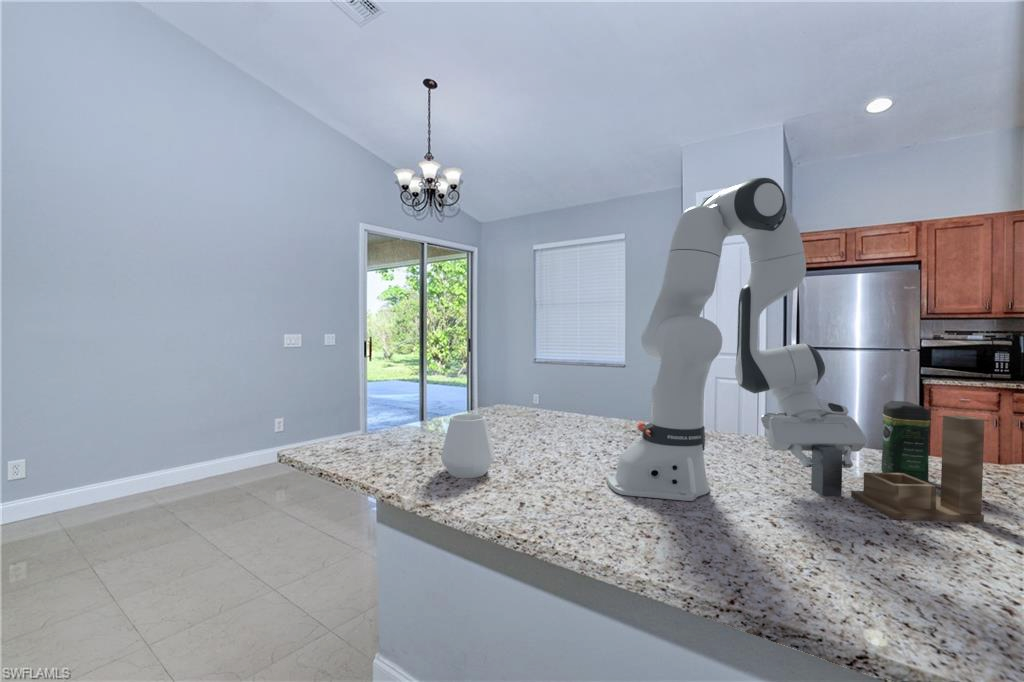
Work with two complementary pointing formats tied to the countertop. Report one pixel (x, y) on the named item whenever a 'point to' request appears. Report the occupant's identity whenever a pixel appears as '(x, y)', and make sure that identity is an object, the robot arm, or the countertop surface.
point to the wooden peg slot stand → (958, 480)
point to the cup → (467, 446)
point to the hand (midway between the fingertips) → (828, 466)
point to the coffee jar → (906, 439)
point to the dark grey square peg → (827, 470)
